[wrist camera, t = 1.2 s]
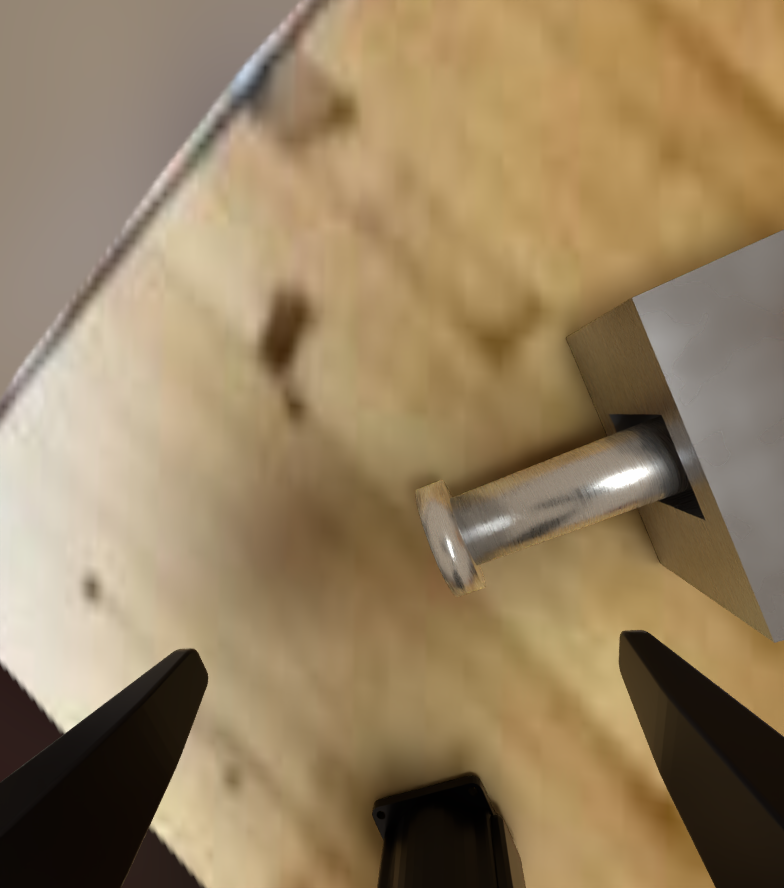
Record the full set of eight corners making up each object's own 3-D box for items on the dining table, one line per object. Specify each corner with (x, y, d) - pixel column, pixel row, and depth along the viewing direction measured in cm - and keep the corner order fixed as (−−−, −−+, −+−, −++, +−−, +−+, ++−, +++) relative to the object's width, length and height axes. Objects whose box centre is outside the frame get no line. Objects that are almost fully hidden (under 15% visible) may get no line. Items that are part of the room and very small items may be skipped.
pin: (456, 567, 18) (461, 620, 14) (419, 480, 18) (411, 504, 14) (779, 450, 16) (921, 466, 11) (738, 349, 16) (864, 323, 11)
